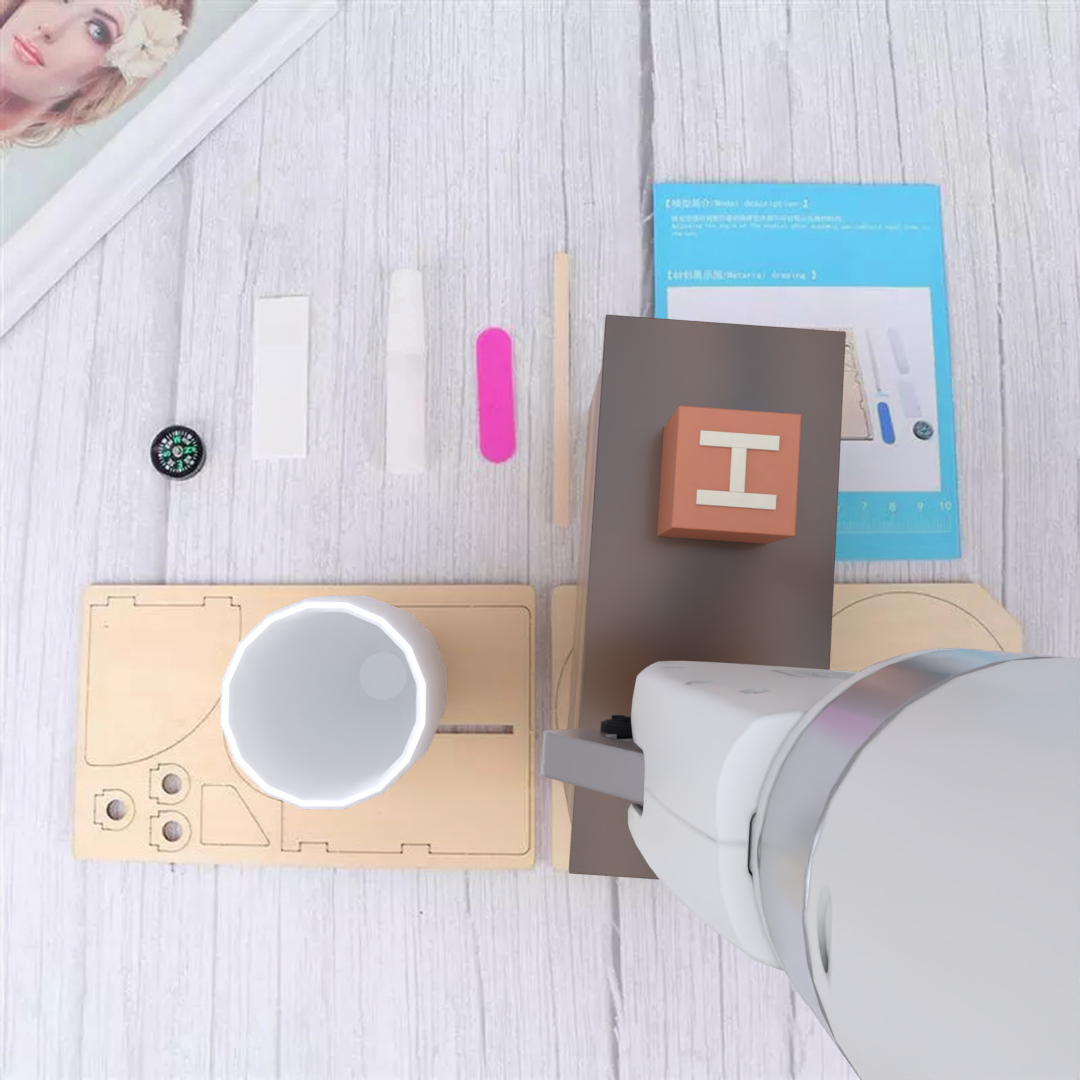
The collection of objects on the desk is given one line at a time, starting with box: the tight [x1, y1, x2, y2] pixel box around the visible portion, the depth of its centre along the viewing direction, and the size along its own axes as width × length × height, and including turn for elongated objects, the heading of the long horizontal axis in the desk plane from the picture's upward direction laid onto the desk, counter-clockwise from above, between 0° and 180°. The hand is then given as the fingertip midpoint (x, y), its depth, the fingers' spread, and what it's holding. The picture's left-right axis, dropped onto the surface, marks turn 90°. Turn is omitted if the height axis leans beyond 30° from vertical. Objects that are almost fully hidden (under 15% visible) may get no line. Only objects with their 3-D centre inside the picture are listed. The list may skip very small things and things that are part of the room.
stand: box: [562, 366, 602, 825], centre depth 55 cm, size 10×25×22 cm, turn 176°
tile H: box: [657, 406, 801, 544], centre depth 41 cm, size 5×5×5 cm
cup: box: [219, 594, 448, 810], centre depth 54 cm, size 10×10×22 cm
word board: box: [568, 314, 847, 881], centre depth 43 cm, size 11×25×1 cm, turn 176°
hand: (747, 736), depth 34 cm, fingers closed on tile I, 5 cm apart
